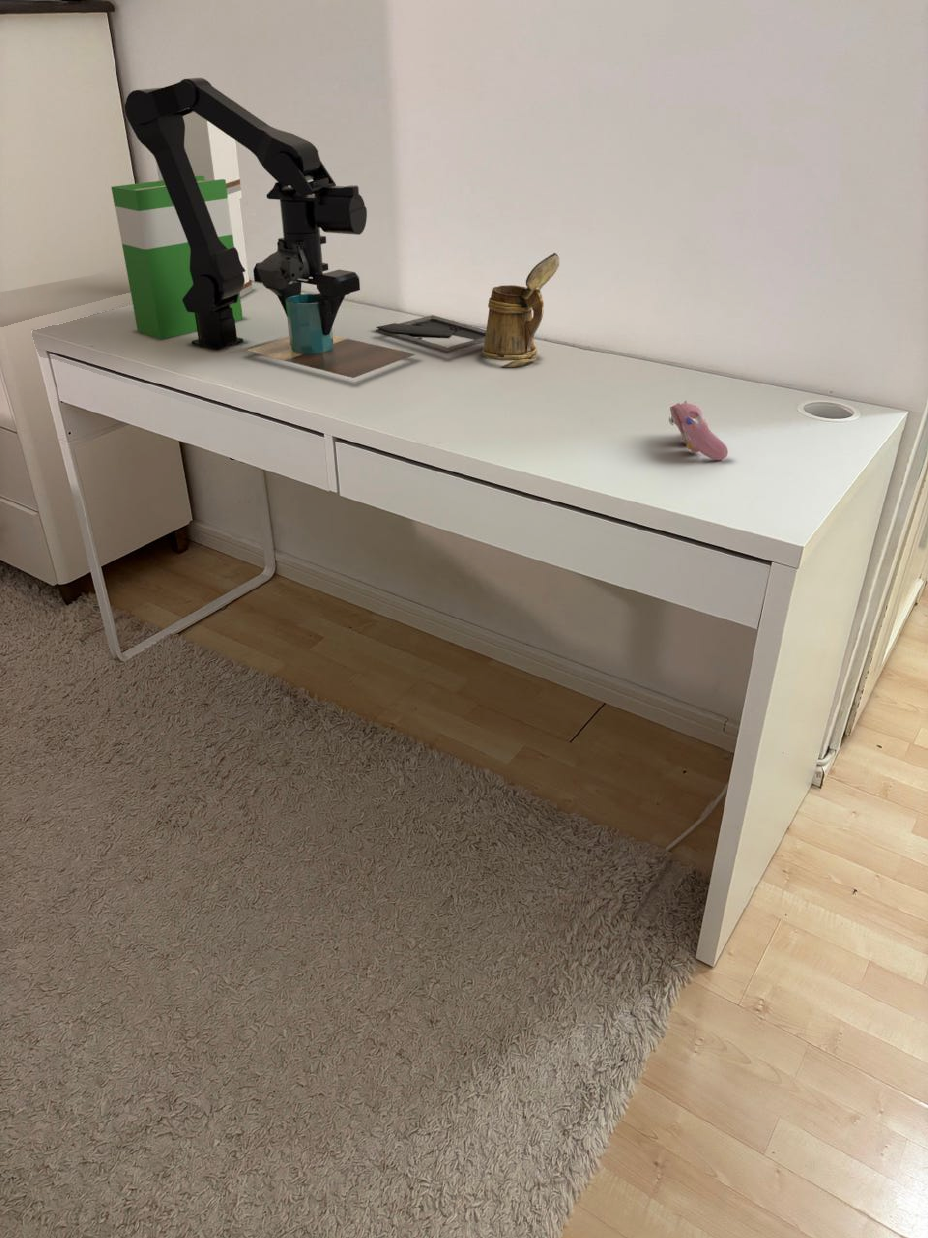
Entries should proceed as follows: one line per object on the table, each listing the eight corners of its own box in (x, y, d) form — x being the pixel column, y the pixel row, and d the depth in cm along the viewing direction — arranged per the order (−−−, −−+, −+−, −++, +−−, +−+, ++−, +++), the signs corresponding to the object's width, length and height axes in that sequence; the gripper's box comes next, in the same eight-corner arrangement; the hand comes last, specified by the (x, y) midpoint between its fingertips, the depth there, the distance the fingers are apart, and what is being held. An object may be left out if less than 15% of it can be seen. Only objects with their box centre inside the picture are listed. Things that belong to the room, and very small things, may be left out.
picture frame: (376, 338, 167) (446, 360, 156) (376, 326, 166) (446, 347, 155) (432, 323, 175) (502, 343, 164) (432, 312, 174) (503, 332, 163)
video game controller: (677, 445, 129) (659, 401, 125) (708, 429, 128) (691, 385, 125) (698, 474, 121) (679, 428, 117) (732, 458, 120) (714, 411, 116)
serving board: (246, 357, 158) (245, 350, 157) (310, 336, 168) (309, 329, 167) (354, 385, 146) (353, 377, 145) (415, 361, 156) (415, 353, 155)
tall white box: (252, 290, 197) (230, 98, 178) (230, 302, 188) (204, 102, 169) (202, 287, 199) (174, 97, 180) (177, 299, 190) (146, 101, 172)
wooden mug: (531, 377, 148) (535, 257, 139) (470, 359, 157) (470, 244, 147) (567, 365, 154) (574, 248, 144) (507, 347, 162) (509, 236, 152)
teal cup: (282, 349, 158) (277, 299, 153) (311, 339, 162) (307, 291, 158) (312, 356, 154) (308, 306, 150) (341, 346, 159) (338, 297, 154)
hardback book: (219, 312, 182) (200, 175, 169) (242, 319, 178) (225, 179, 165) (137, 331, 171) (111, 186, 158) (160, 339, 167) (135, 191, 154)
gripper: (221, 232, 148) (235, 332, 156) (307, 245, 138) (317, 352, 146) (274, 221, 155) (284, 318, 164) (359, 233, 146) (365, 336, 154)
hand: (310, 331), depth 157 cm, fingers closed on teal cup, 7 cm apart
